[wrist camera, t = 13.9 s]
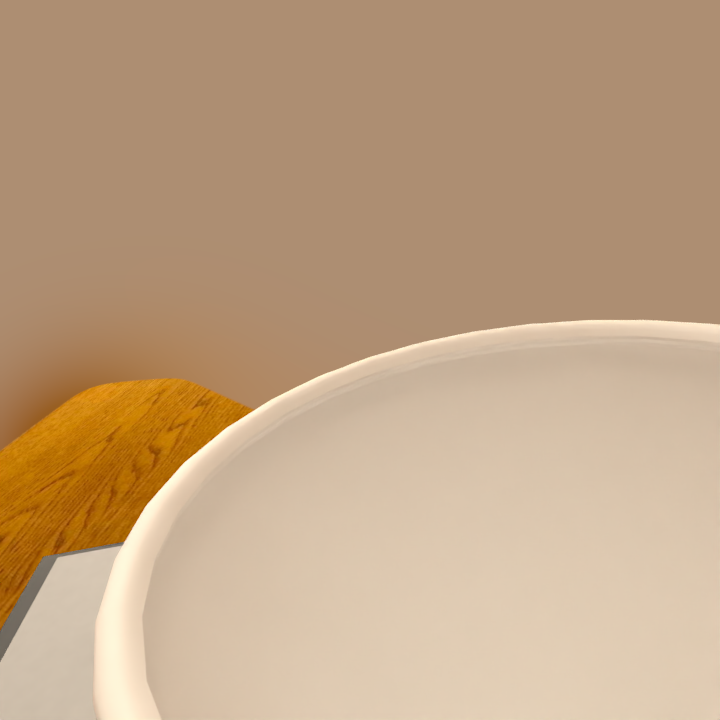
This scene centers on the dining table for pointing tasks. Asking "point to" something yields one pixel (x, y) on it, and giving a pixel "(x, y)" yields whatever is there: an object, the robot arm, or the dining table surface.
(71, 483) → the dining table surface
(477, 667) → the cup
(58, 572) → the scale
